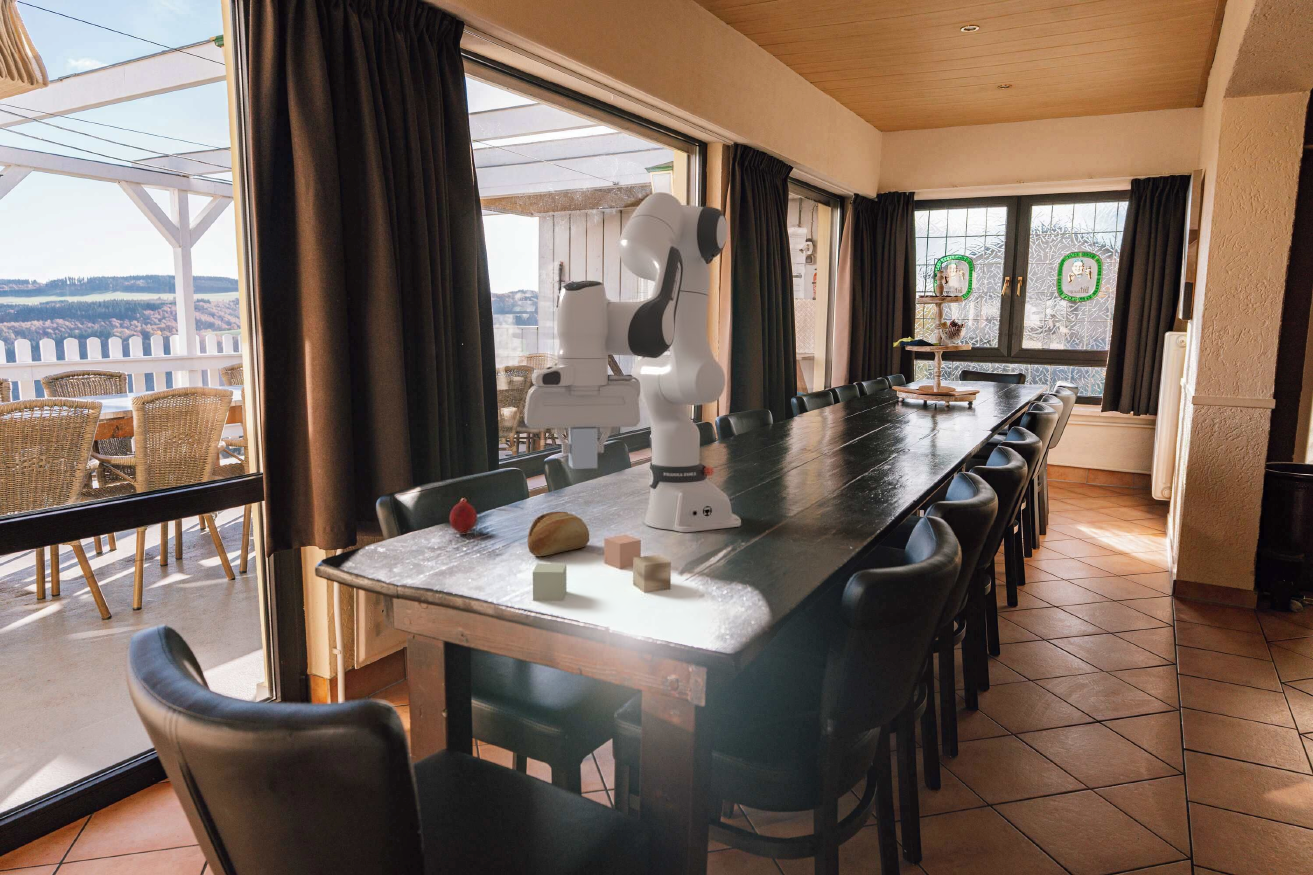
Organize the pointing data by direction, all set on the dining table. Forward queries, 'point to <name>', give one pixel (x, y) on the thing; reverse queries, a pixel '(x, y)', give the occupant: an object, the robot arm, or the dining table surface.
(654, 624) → the dining table surface
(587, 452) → the pale blue block
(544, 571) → the sage block
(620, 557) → the terracotta block
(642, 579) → the birch block
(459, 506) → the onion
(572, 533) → the bread roll
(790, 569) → the dining table surface
